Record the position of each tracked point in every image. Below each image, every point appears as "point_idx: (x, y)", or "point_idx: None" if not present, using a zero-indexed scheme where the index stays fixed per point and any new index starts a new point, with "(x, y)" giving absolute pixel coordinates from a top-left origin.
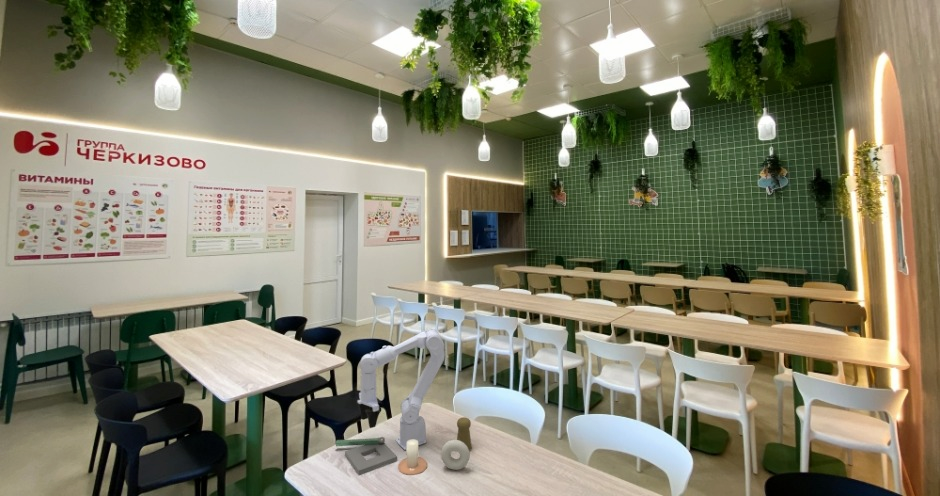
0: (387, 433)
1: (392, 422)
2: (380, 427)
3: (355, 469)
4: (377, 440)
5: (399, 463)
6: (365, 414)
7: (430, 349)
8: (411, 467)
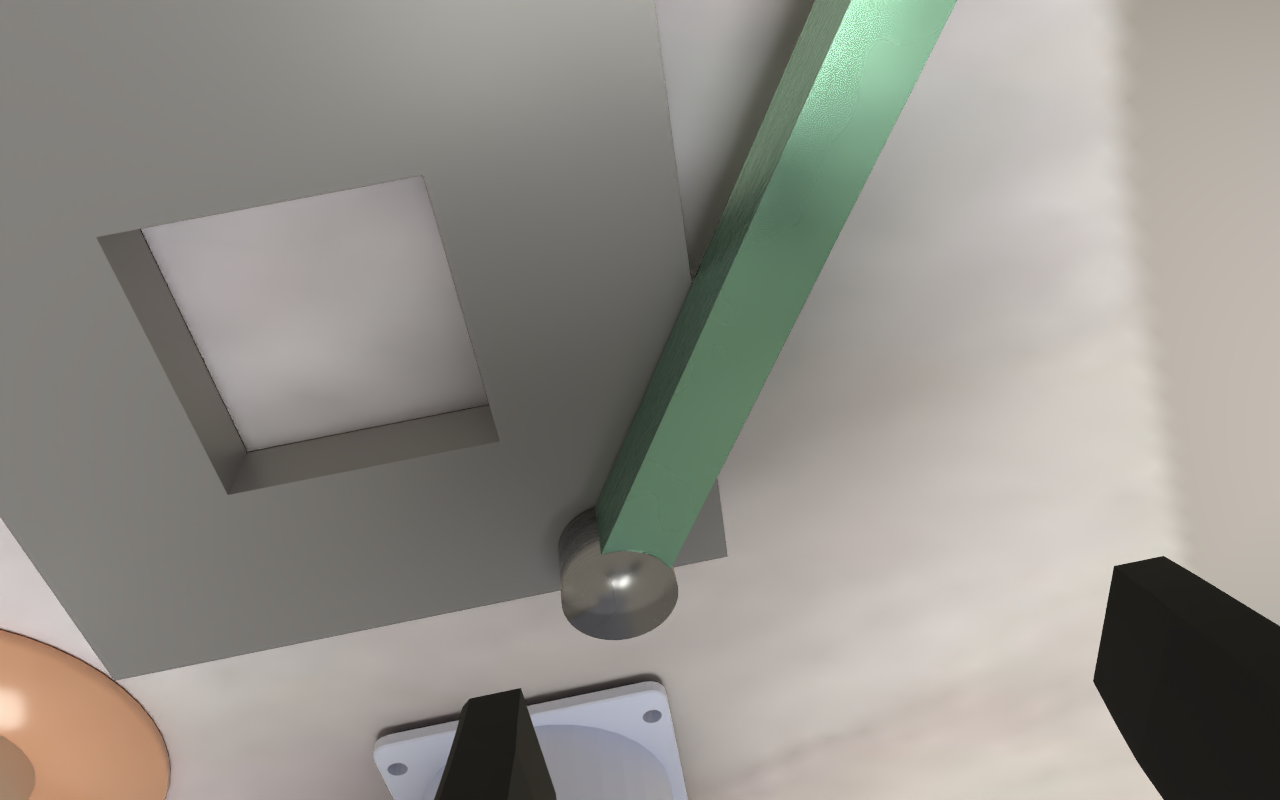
0: (925, 615)
1: None
2: None
3: None
4: (606, 536)
5: (9, 654)
6: (1201, 759)
7: None
8: None
